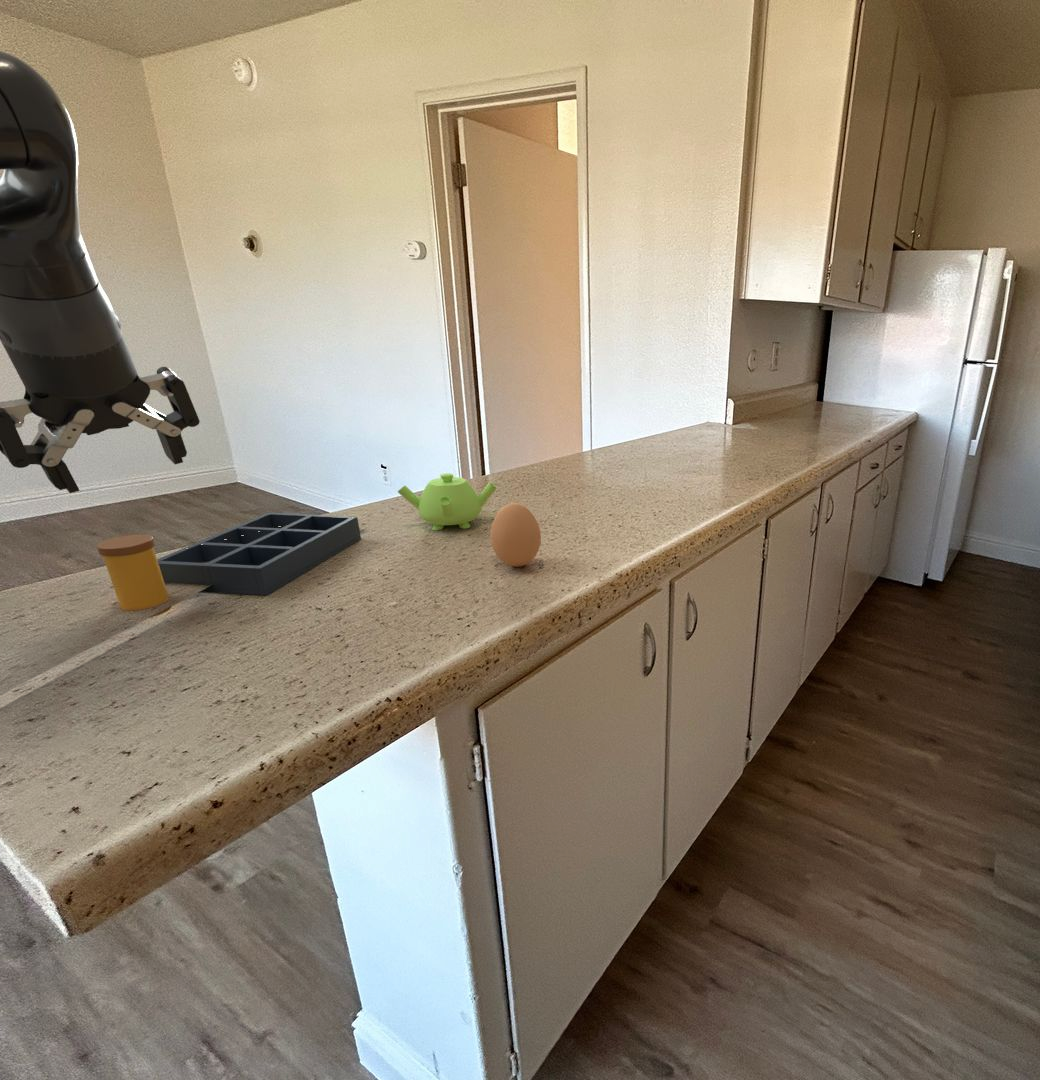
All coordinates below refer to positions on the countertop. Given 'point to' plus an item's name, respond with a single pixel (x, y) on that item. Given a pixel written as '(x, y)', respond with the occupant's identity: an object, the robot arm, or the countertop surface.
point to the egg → (515, 535)
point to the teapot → (448, 501)
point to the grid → (261, 552)
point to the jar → (134, 571)
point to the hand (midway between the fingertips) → (125, 473)
